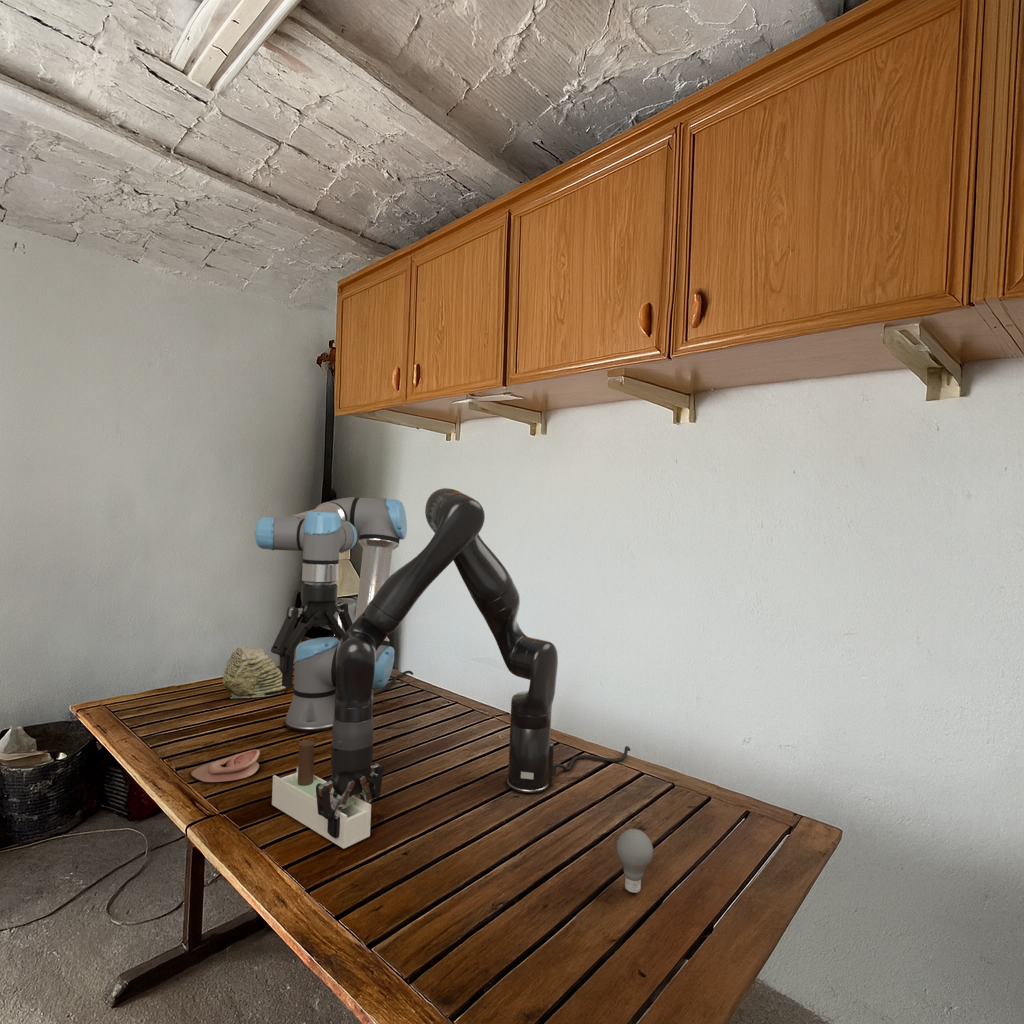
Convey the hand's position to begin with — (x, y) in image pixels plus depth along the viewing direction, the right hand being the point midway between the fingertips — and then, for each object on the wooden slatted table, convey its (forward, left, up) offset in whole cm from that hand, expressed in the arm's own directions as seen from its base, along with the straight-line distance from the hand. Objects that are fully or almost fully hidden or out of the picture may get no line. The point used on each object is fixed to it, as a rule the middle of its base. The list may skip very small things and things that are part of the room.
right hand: (349, 829), depth 118 cm
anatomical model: (+16, -39, -2) cm, 42 cm away
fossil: (+1, -94, -2) cm, 94 cm away
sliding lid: (+3, -9, +3) cm, 10 cm away
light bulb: (-37, +37, -2) cm, 52 cm away
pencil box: (+3, -9, -2) cm, 10 cm away
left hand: (+1, -23, +22) cm, 32 cm away
